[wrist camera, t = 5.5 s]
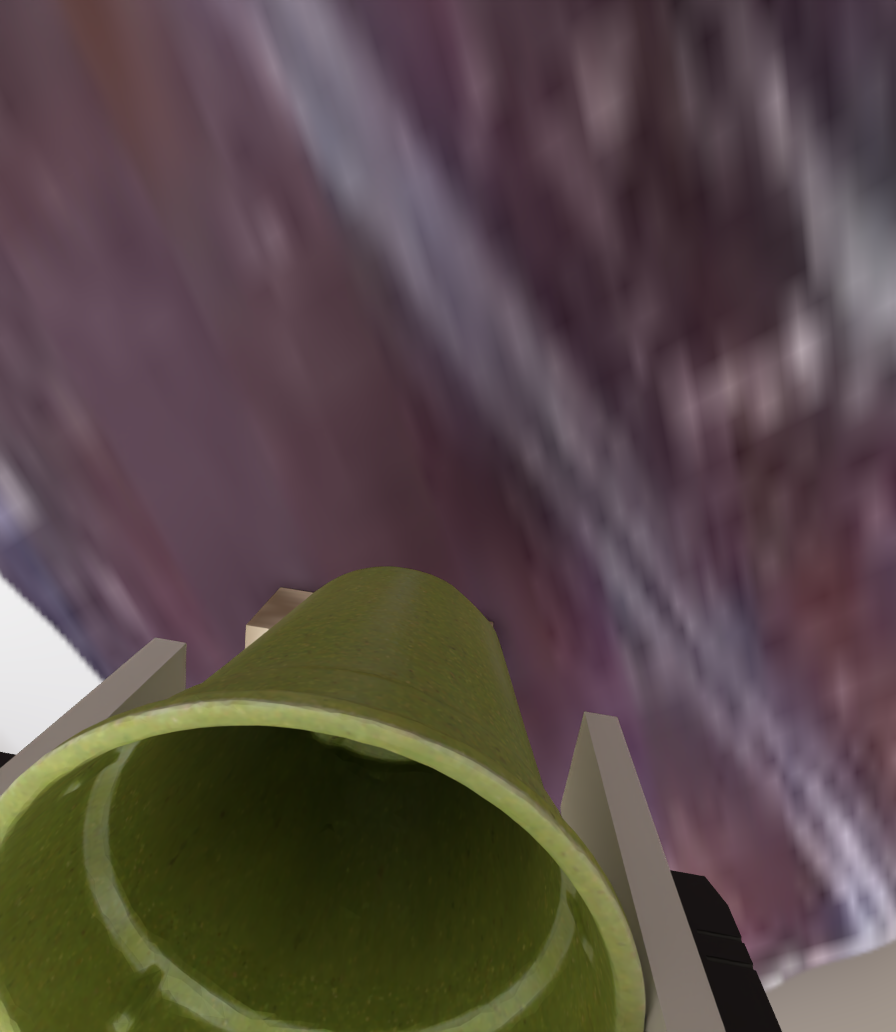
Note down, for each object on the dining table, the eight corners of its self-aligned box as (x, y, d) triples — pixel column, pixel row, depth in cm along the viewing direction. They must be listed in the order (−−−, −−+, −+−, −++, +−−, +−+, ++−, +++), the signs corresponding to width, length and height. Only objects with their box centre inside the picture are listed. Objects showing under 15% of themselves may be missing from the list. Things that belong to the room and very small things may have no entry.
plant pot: (558, 812, 17) (621, 1255, 9) (250, 798, 18) (33, 1193, 9) (572, 507, 14) (681, 718, 6) (211, 505, 15) (-134, 691, 7)
